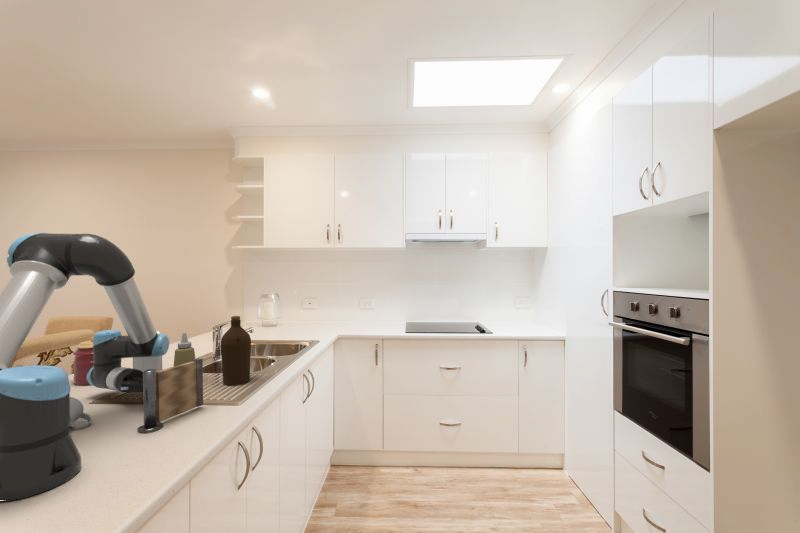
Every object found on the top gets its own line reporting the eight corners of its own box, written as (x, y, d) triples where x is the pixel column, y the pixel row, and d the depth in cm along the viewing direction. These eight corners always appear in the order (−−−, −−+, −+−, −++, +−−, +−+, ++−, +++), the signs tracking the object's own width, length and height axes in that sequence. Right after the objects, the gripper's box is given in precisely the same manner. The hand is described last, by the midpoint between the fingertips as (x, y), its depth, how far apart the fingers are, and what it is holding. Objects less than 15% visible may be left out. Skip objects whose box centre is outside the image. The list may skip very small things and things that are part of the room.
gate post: (163, 429, 103) (162, 371, 102) (137, 435, 99) (135, 375, 99) (163, 421, 108) (162, 366, 107) (137, 427, 104) (136, 369, 104)
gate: (160, 422, 105) (159, 371, 105) (155, 421, 106) (154, 370, 106) (203, 404, 118) (202, 358, 118) (198, 403, 119) (197, 358, 119)
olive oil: (257, 379, 146) (256, 315, 145) (234, 388, 136) (233, 319, 136) (238, 376, 150) (237, 313, 150) (214, 384, 141) (213, 317, 141)
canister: (101, 374, 155) (101, 331, 154) (124, 377, 151) (123, 333, 150) (65, 384, 142) (64, 337, 142) (88, 387, 138) (87, 339, 138)
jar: (131, 378, 149) (130, 333, 149) (160, 373, 155) (159, 329, 155) (134, 384, 142) (134, 336, 141) (165, 378, 148) (164, 333, 148)
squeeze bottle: (184, 383, 142) (183, 336, 142) (168, 381, 144) (167, 334, 144) (201, 377, 149) (200, 332, 149) (186, 375, 152) (185, 331, 152)
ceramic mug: (35, 437, 99) (35, 408, 98) (50, 425, 106) (50, 398, 106) (85, 431, 103) (85, 403, 103) (96, 419, 110) (96, 393, 110)
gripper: (146, 385, 131) (195, 393, 122) (105, 397, 118) (156, 408, 110) (145, 363, 130) (195, 370, 122) (104, 374, 118) (155, 382, 110)
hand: (176, 388), depth 116 cm, fingers closed
